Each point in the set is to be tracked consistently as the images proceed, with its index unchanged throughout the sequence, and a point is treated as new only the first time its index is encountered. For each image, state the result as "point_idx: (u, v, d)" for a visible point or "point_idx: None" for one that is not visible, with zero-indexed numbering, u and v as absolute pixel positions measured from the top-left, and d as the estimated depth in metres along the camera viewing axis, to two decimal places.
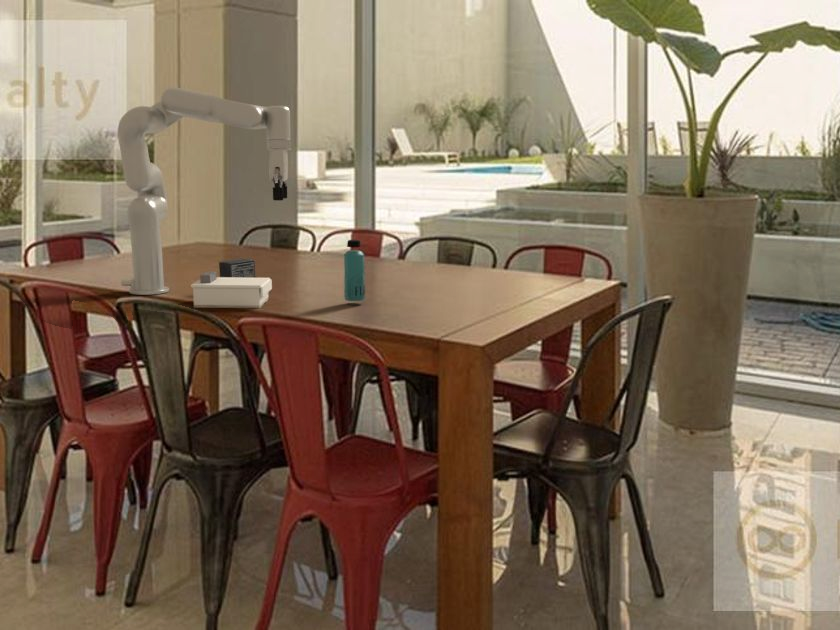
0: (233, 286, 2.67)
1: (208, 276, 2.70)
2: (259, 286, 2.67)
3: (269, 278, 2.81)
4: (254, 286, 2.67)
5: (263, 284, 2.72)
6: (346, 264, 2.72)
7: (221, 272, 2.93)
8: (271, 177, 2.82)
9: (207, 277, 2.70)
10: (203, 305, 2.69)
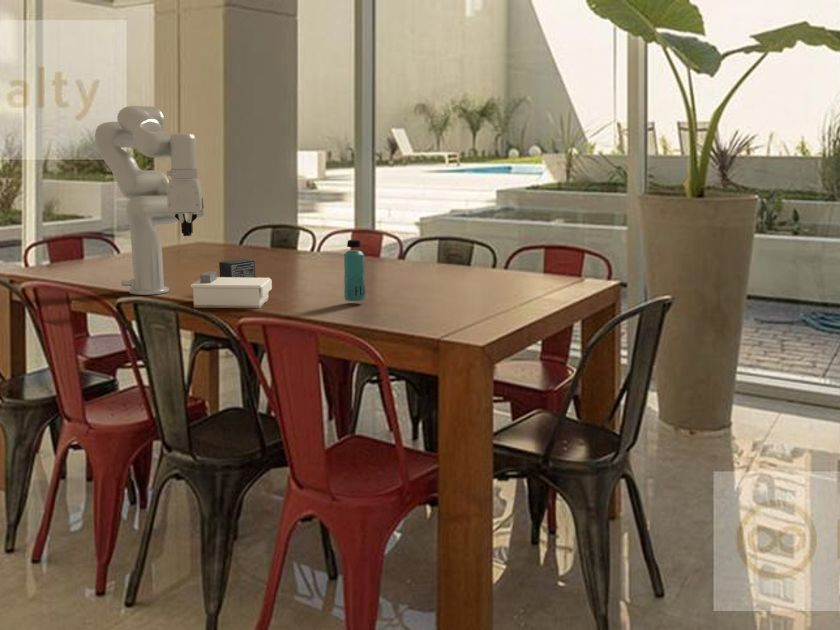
0: (233, 286, 2.67)
1: (208, 276, 2.70)
2: (259, 286, 2.67)
3: (269, 278, 2.81)
4: (254, 286, 2.67)
5: (263, 284, 2.72)
6: (346, 264, 2.72)
7: (221, 272, 2.93)
8: (200, 208, 2.68)
9: (207, 277, 2.70)
10: (203, 305, 2.69)
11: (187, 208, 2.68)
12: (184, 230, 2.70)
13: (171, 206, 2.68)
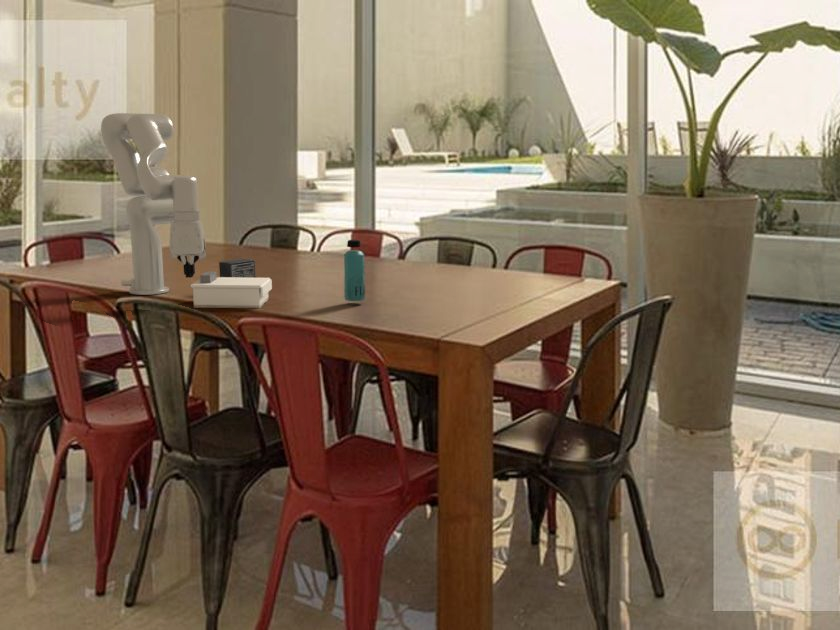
0: (233, 286, 2.67)
1: (208, 276, 2.70)
2: (259, 286, 2.67)
3: (269, 278, 2.81)
4: (254, 286, 2.67)
5: (263, 284, 2.72)
6: (346, 264, 2.72)
7: (221, 272, 2.93)
8: (202, 250, 2.71)
9: (207, 277, 2.70)
10: (203, 305, 2.69)
11: (189, 250, 2.70)
12: (186, 272, 2.73)
13: (173, 248, 2.70)
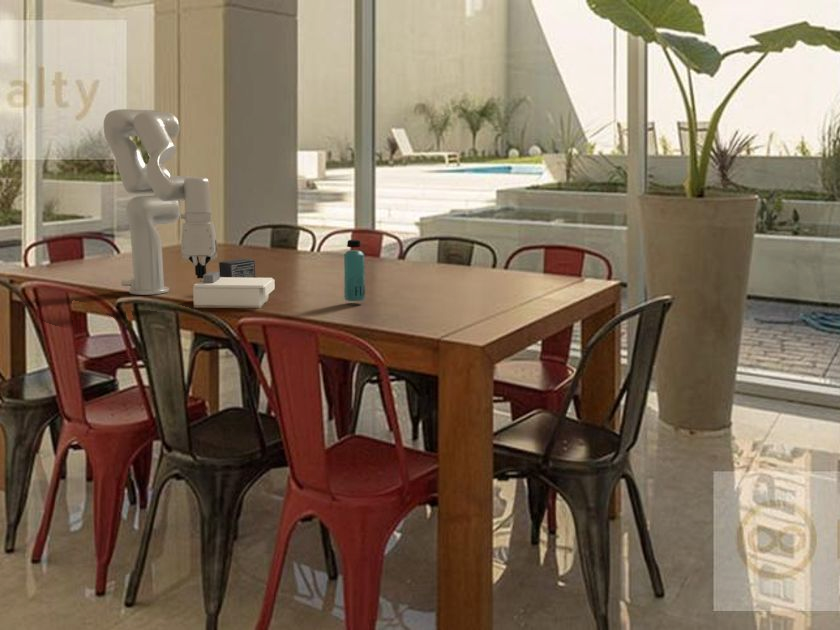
0: (236, 286, 2.67)
1: (211, 276, 2.70)
2: (262, 286, 2.67)
3: (272, 278, 2.81)
4: (257, 286, 2.67)
5: (266, 284, 2.72)
6: (346, 264, 2.72)
7: (221, 272, 2.93)
8: (214, 251, 2.71)
9: (210, 277, 2.70)
10: (203, 305, 2.69)
11: (201, 251, 2.70)
12: (198, 272, 2.73)
13: (185, 249, 2.70)
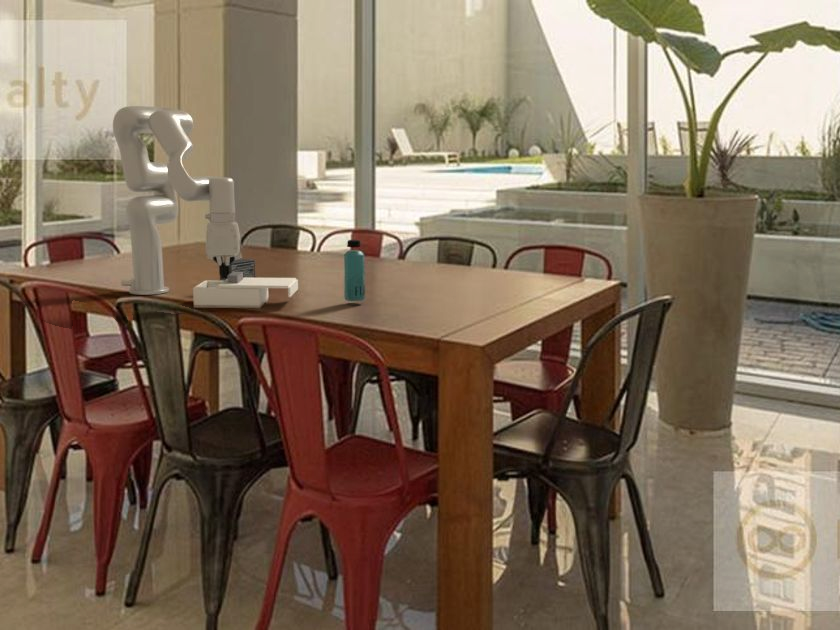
0: (261, 286, 2.67)
1: (235, 276, 2.70)
2: (287, 286, 2.67)
3: (295, 278, 2.81)
4: (282, 286, 2.67)
5: (290, 284, 2.72)
6: (346, 264, 2.72)
7: None
8: (238, 251, 2.71)
9: (234, 277, 2.70)
10: (203, 305, 2.69)
11: (225, 251, 2.70)
12: (222, 273, 2.72)
13: (209, 249, 2.70)
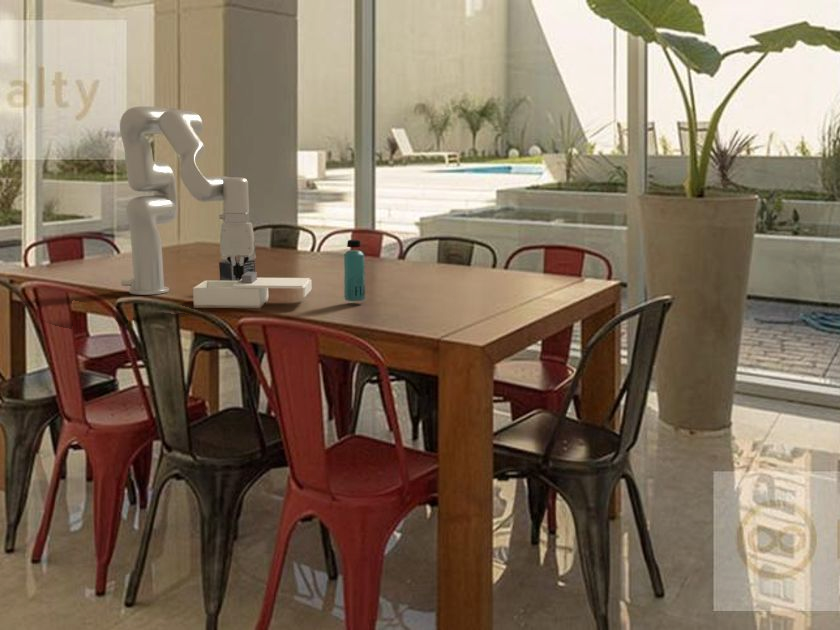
0: (275, 286, 2.67)
1: (249, 276, 2.70)
2: (301, 286, 2.67)
3: (309, 278, 2.81)
4: (296, 286, 2.67)
5: (304, 284, 2.71)
6: (346, 264, 2.72)
7: (221, 272, 2.93)
8: (253, 251, 2.71)
9: (248, 277, 2.70)
10: (203, 305, 2.69)
11: (239, 251, 2.70)
12: (236, 273, 2.72)
13: (224, 249, 2.70)
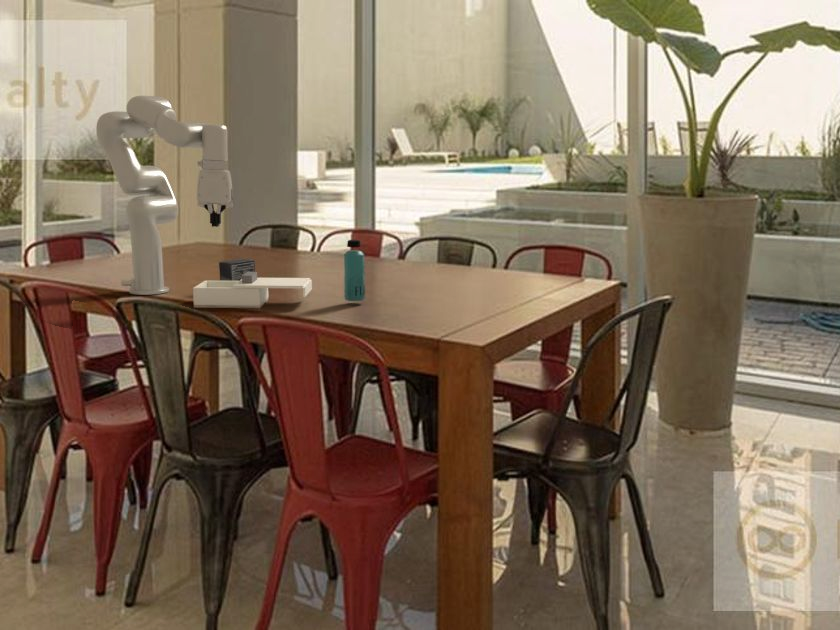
0: (275, 286, 2.67)
1: (250, 276, 2.70)
2: (301, 286, 2.67)
3: (309, 278, 2.81)
4: (296, 286, 2.67)
5: (305, 284, 2.71)
6: (346, 264, 2.72)
7: (221, 272, 2.93)
8: (230, 200, 2.70)
9: (249, 277, 2.70)
10: (203, 305, 2.69)
11: (217, 199, 2.69)
12: (213, 221, 2.72)
13: (201, 196, 2.69)
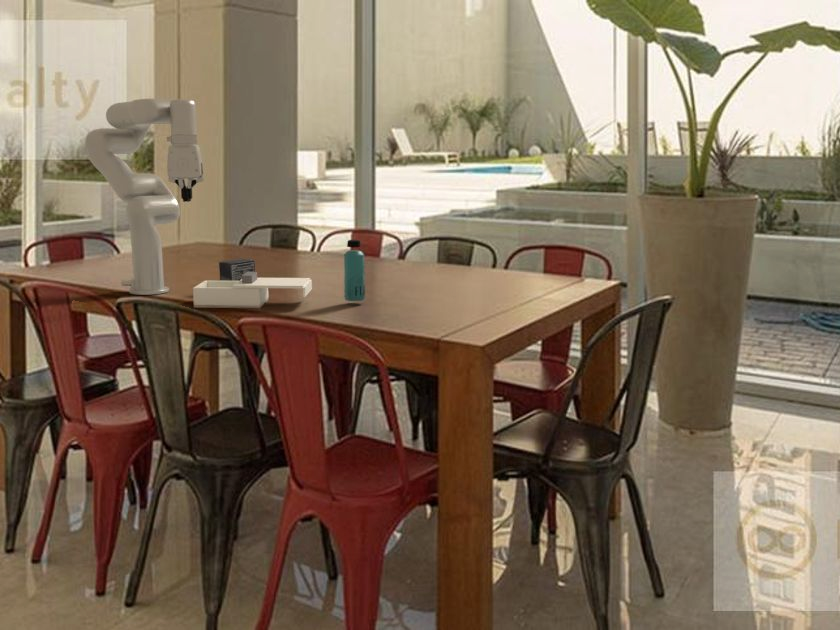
0: (275, 286, 2.67)
1: (250, 276, 2.70)
2: (301, 286, 2.67)
3: (309, 278, 2.81)
4: (296, 286, 2.67)
5: (305, 284, 2.71)
6: (346, 264, 2.72)
7: (221, 272, 2.93)
8: (200, 174, 2.71)
9: (249, 277, 2.70)
10: (203, 305, 2.69)
11: (187, 173, 2.71)
12: (184, 195, 2.73)
13: (171, 171, 2.71)
